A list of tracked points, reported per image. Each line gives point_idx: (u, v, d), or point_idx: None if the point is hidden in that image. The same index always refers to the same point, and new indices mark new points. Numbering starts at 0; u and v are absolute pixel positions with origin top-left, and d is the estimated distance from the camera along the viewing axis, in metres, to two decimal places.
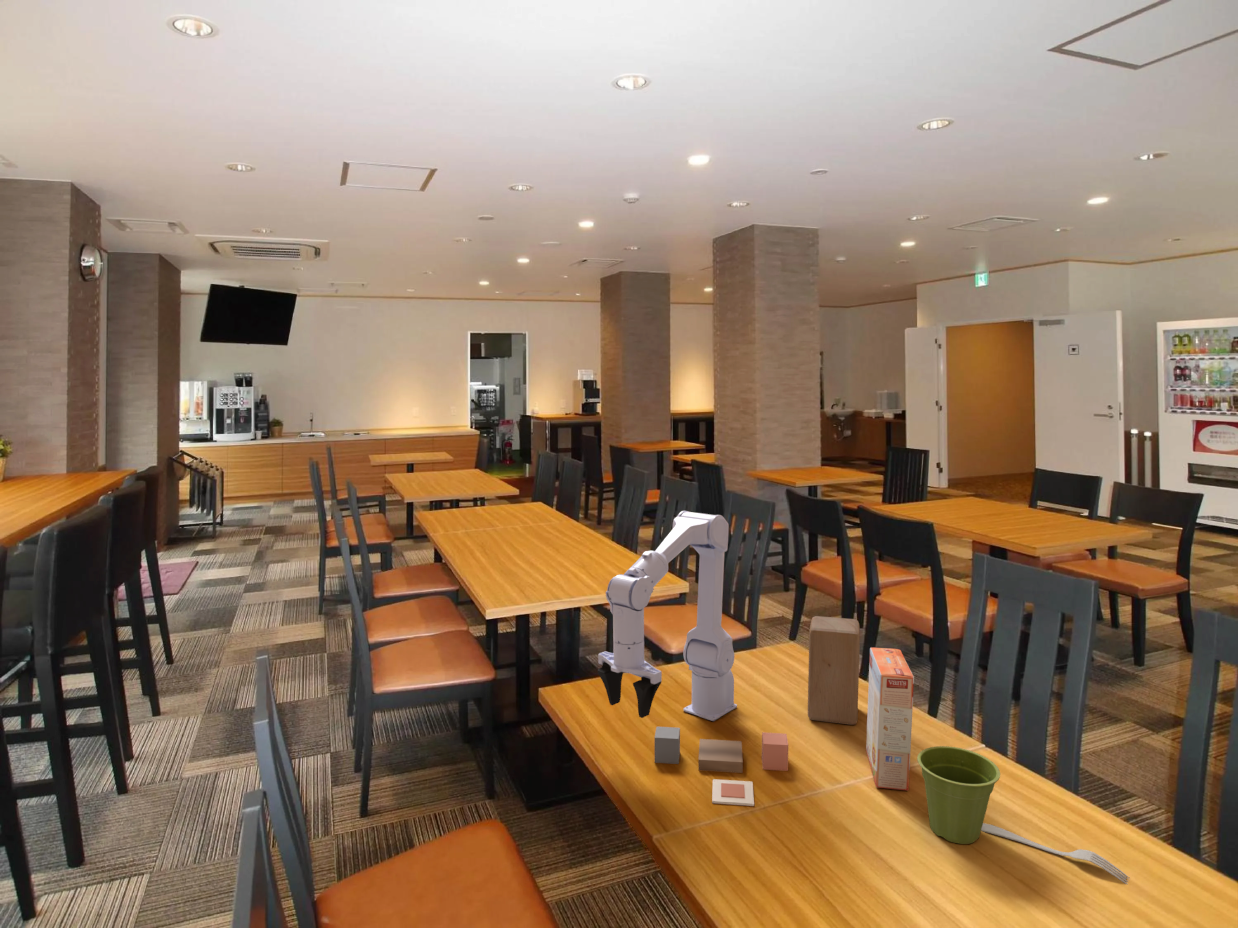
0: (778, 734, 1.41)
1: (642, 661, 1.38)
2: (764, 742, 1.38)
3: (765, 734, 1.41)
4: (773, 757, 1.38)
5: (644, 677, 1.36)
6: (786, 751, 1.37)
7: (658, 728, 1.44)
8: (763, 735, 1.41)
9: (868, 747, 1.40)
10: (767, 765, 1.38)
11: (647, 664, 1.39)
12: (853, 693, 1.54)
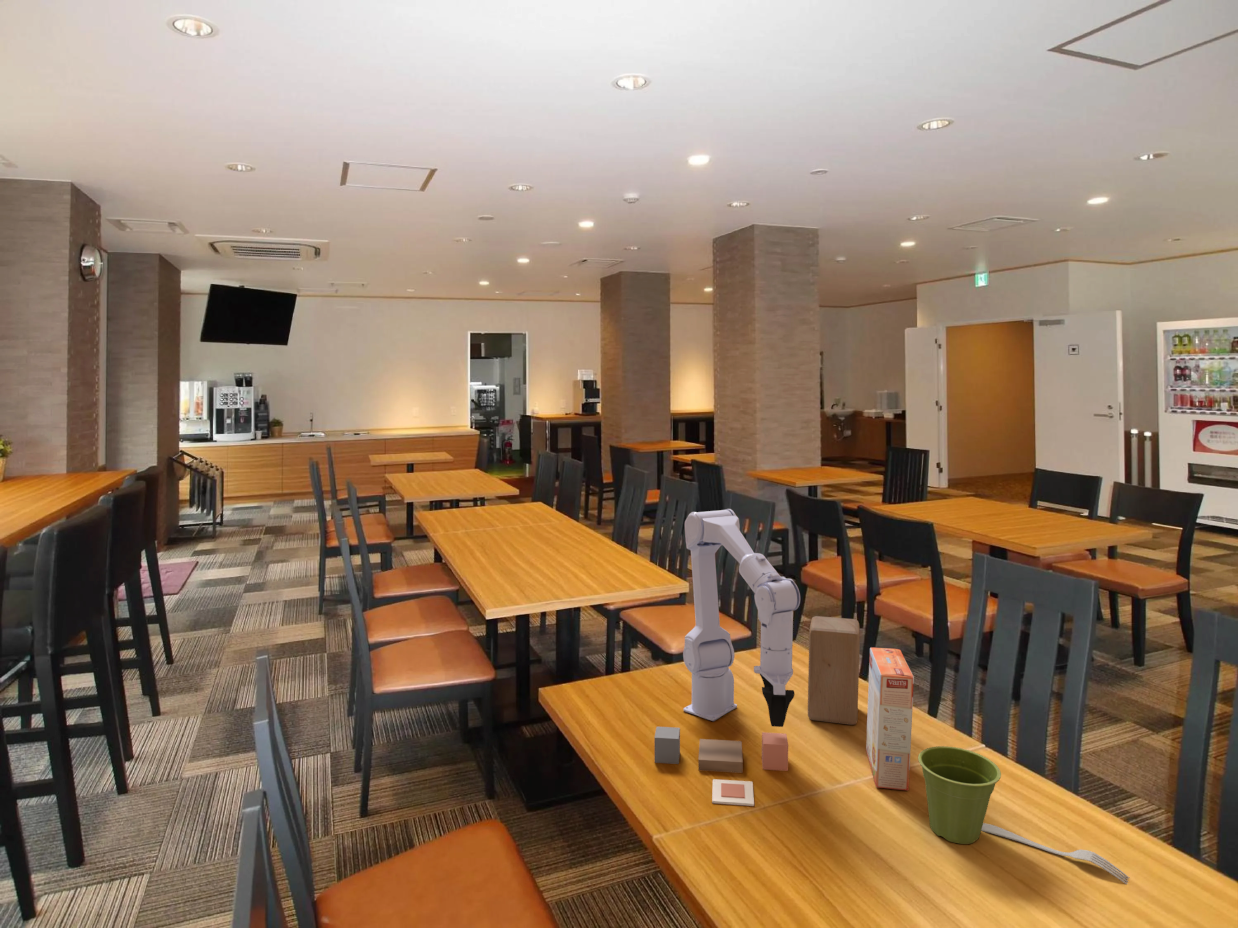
0: (778, 734, 1.41)
1: (782, 671, 1.35)
2: (764, 742, 1.38)
3: (765, 734, 1.41)
4: (773, 757, 1.38)
5: None
6: (786, 751, 1.37)
7: (658, 728, 1.44)
8: (763, 735, 1.41)
9: (868, 747, 1.40)
10: (767, 765, 1.38)
11: (788, 676, 1.35)
12: (853, 693, 1.54)
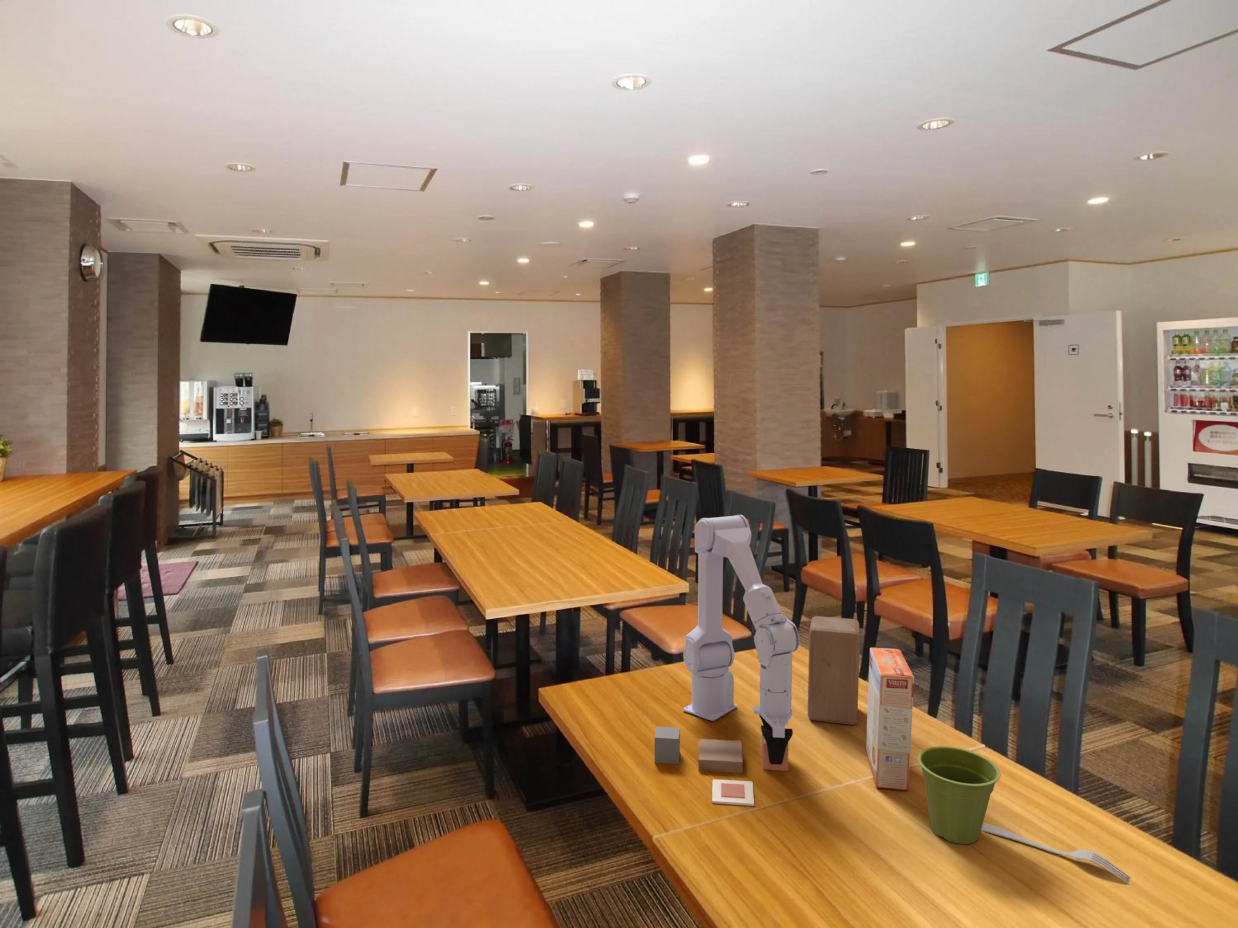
0: None
1: (781, 712, 1.36)
2: (764, 742, 1.38)
3: None
4: None
5: None
6: (786, 751, 1.37)
7: (658, 728, 1.44)
8: None
9: (868, 747, 1.40)
10: (767, 765, 1.38)
11: None
12: (853, 693, 1.54)
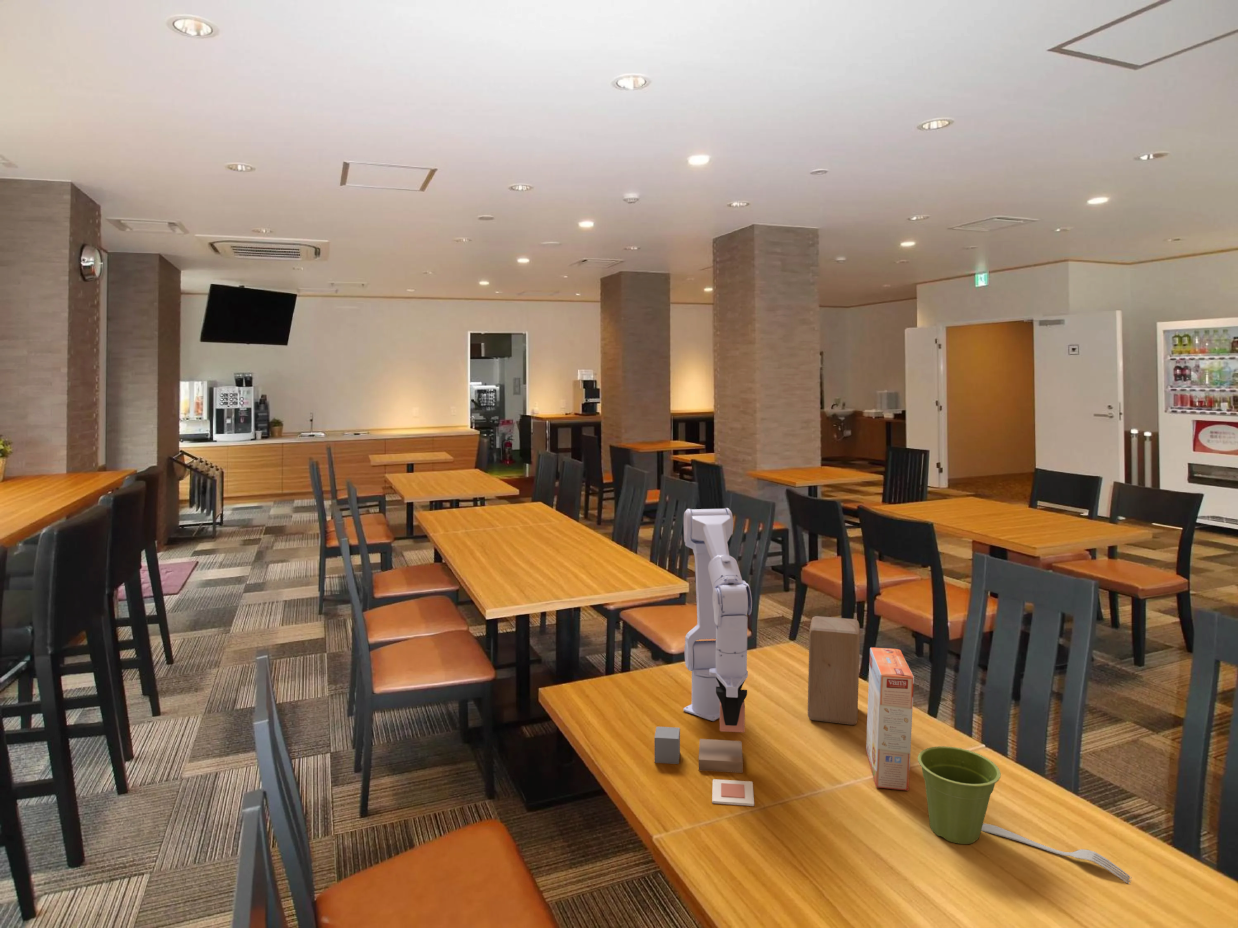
0: None
1: (736, 673, 1.36)
2: None
3: None
4: None
5: None
6: (743, 712, 1.38)
7: (658, 728, 1.44)
8: None
9: (868, 747, 1.40)
10: (724, 727, 1.38)
11: (742, 678, 1.36)
12: (853, 693, 1.54)
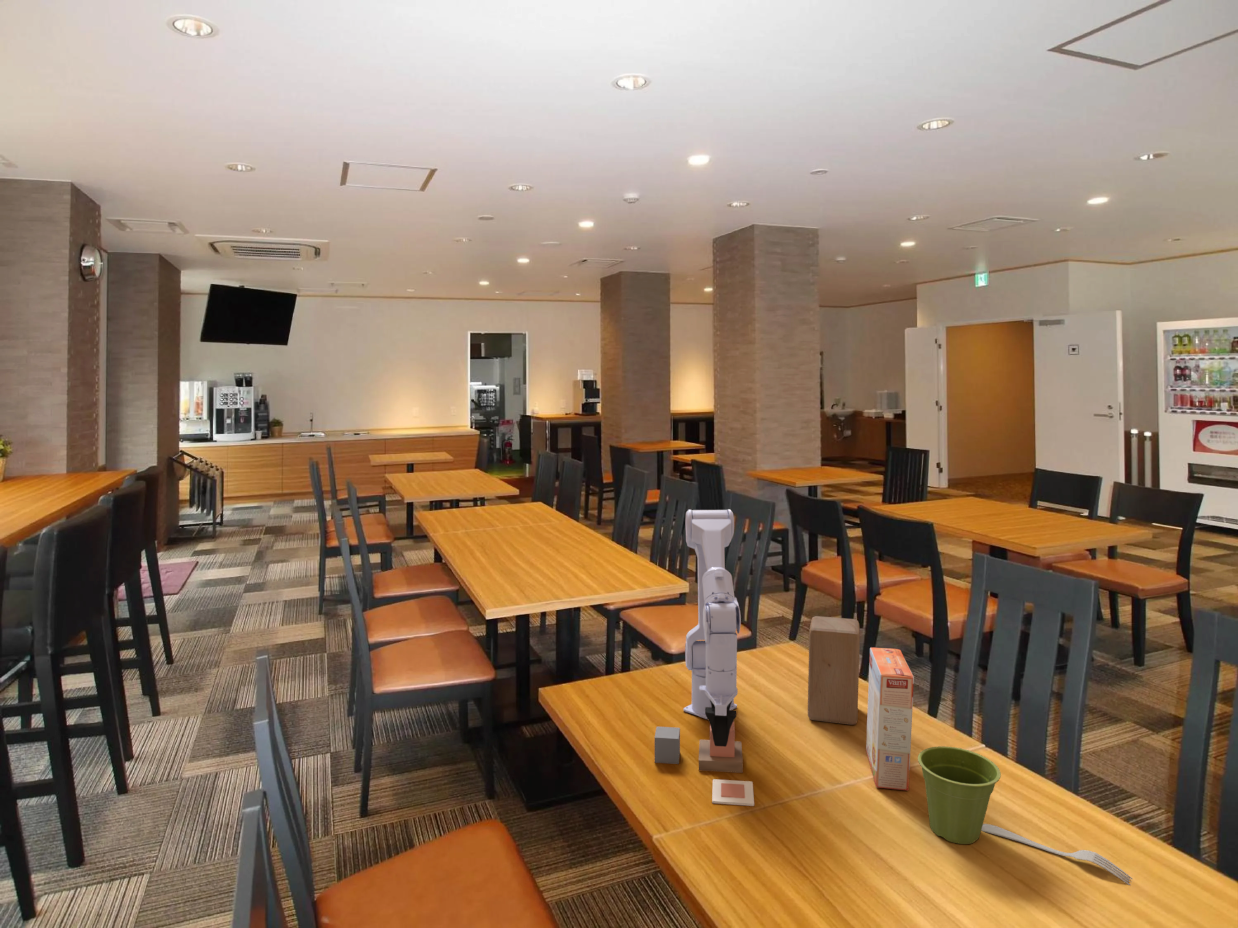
0: None
1: (725, 691, 1.37)
2: (711, 729, 1.39)
3: None
4: None
5: None
6: (733, 738, 1.38)
7: (658, 728, 1.44)
8: None
9: (868, 747, 1.40)
10: (714, 752, 1.39)
11: None
12: (853, 693, 1.54)
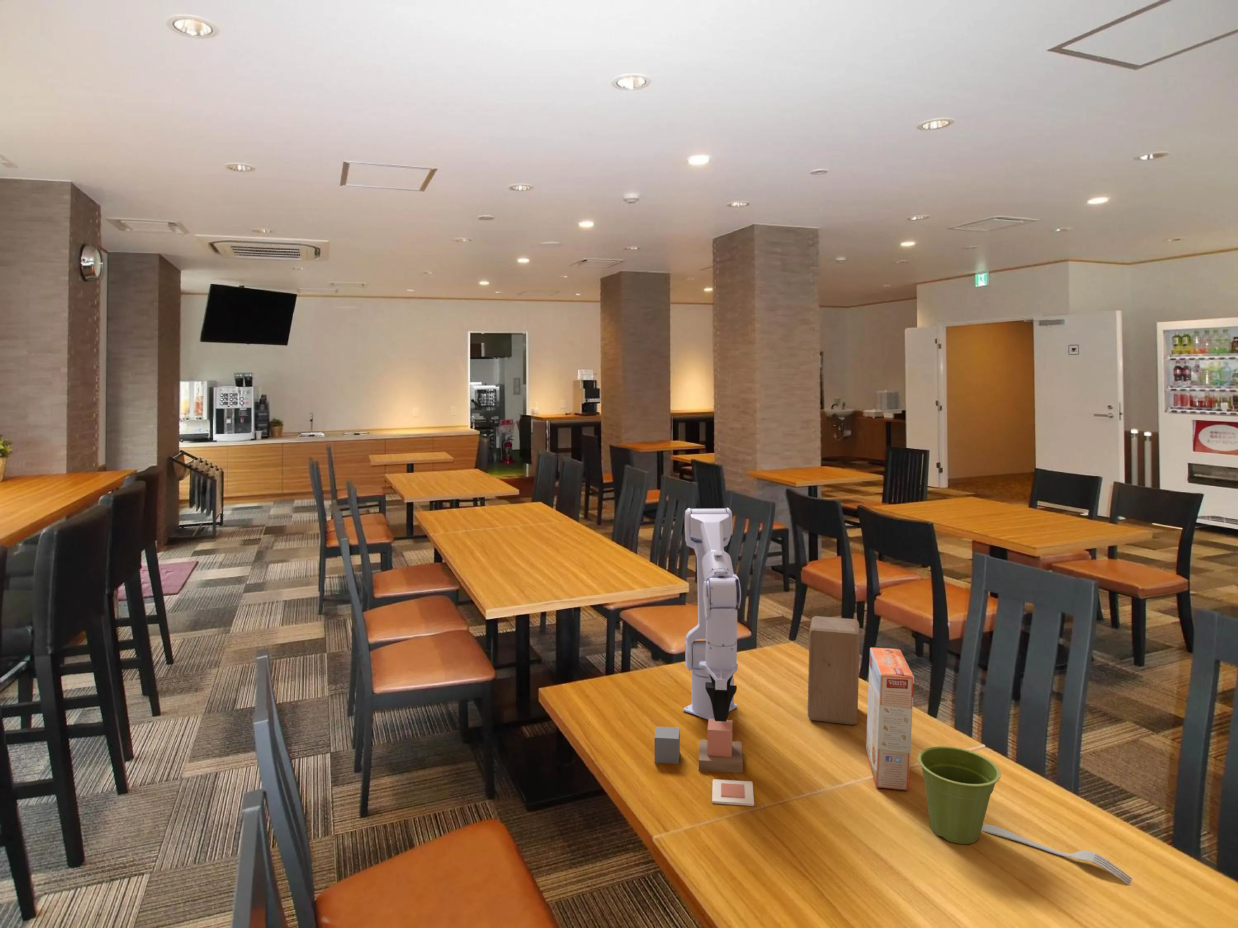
0: None
1: (725, 666, 1.36)
2: (708, 728, 1.39)
3: (711, 720, 1.43)
4: (717, 743, 1.39)
5: None
6: (730, 737, 1.38)
7: (658, 728, 1.44)
8: (709, 721, 1.42)
9: (868, 747, 1.40)
10: (711, 751, 1.39)
11: None
12: (853, 693, 1.54)
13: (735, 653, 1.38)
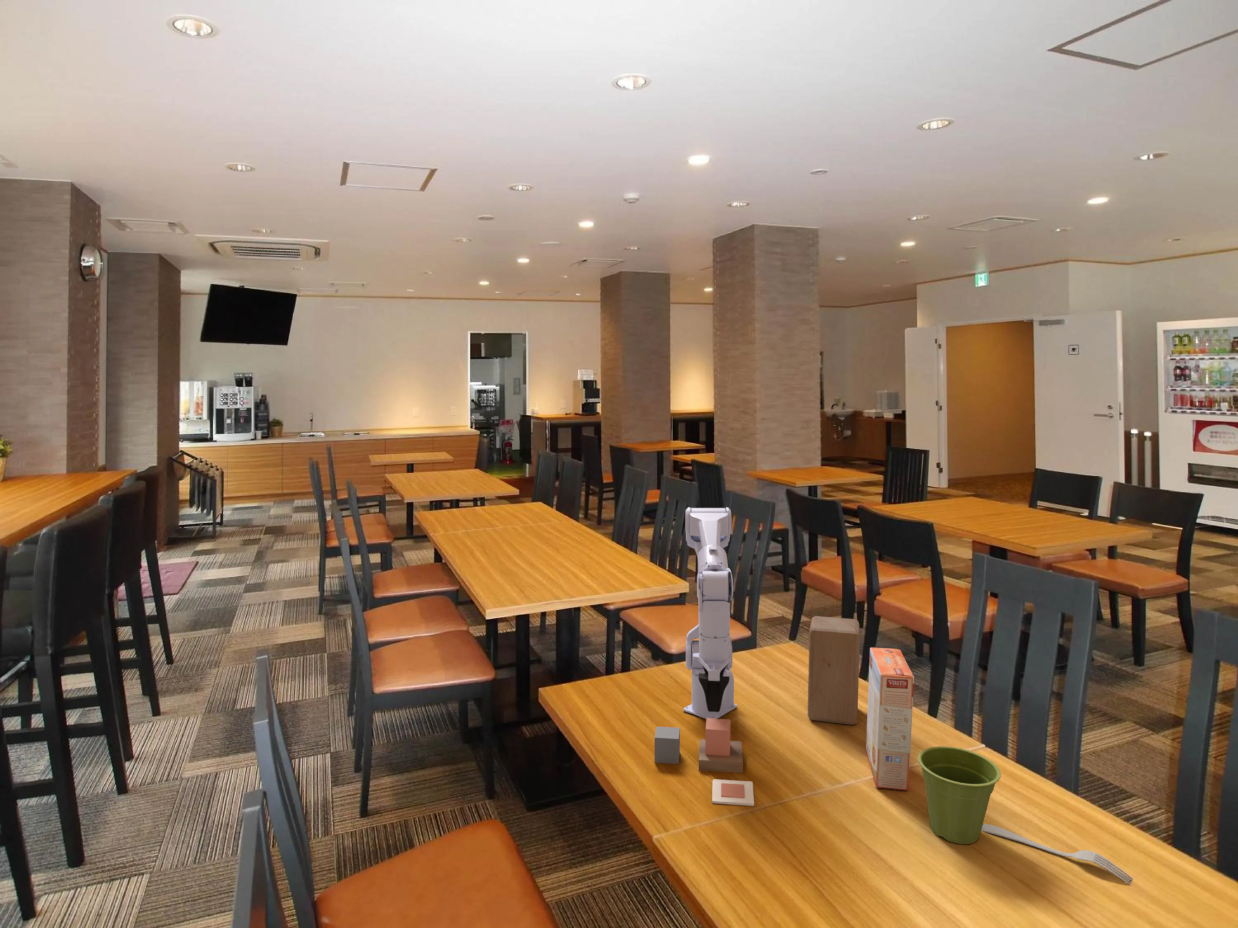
0: (722, 720, 1.42)
1: (718, 657, 1.39)
2: (706, 727, 1.40)
3: (709, 719, 1.43)
4: (715, 742, 1.39)
5: None
6: (728, 736, 1.39)
7: (658, 728, 1.44)
8: (707, 721, 1.42)
9: (868, 747, 1.40)
10: (709, 750, 1.39)
11: None
12: (853, 693, 1.54)
13: (728, 645, 1.40)
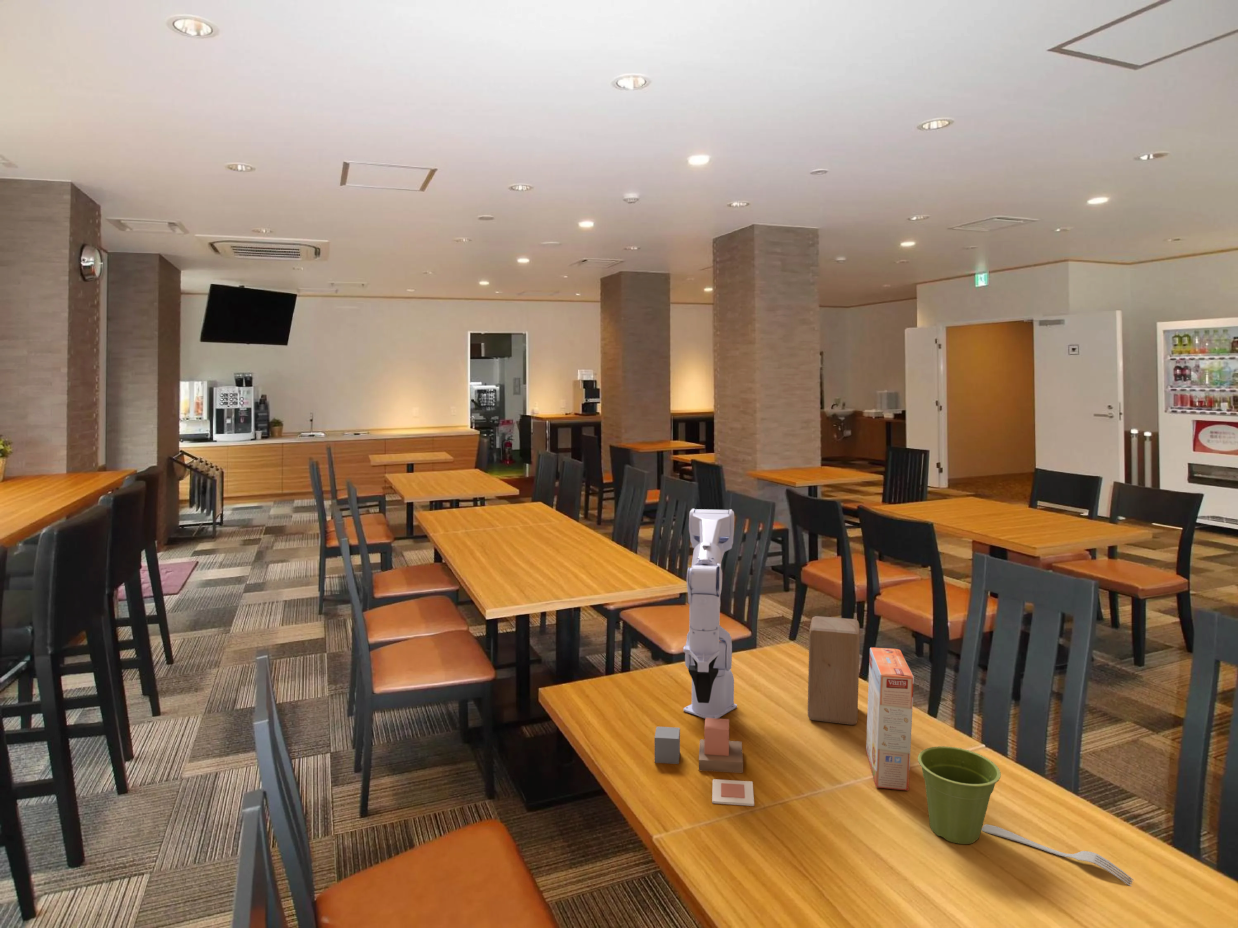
0: (720, 720, 1.43)
1: (708, 650, 1.42)
2: (705, 727, 1.40)
3: (708, 719, 1.43)
4: (714, 742, 1.39)
5: None
6: (727, 736, 1.39)
7: (658, 728, 1.44)
8: (706, 720, 1.42)
9: (868, 747, 1.40)
10: (708, 750, 1.40)
11: (713, 655, 1.42)
12: (853, 693, 1.54)
13: (717, 637, 1.44)
